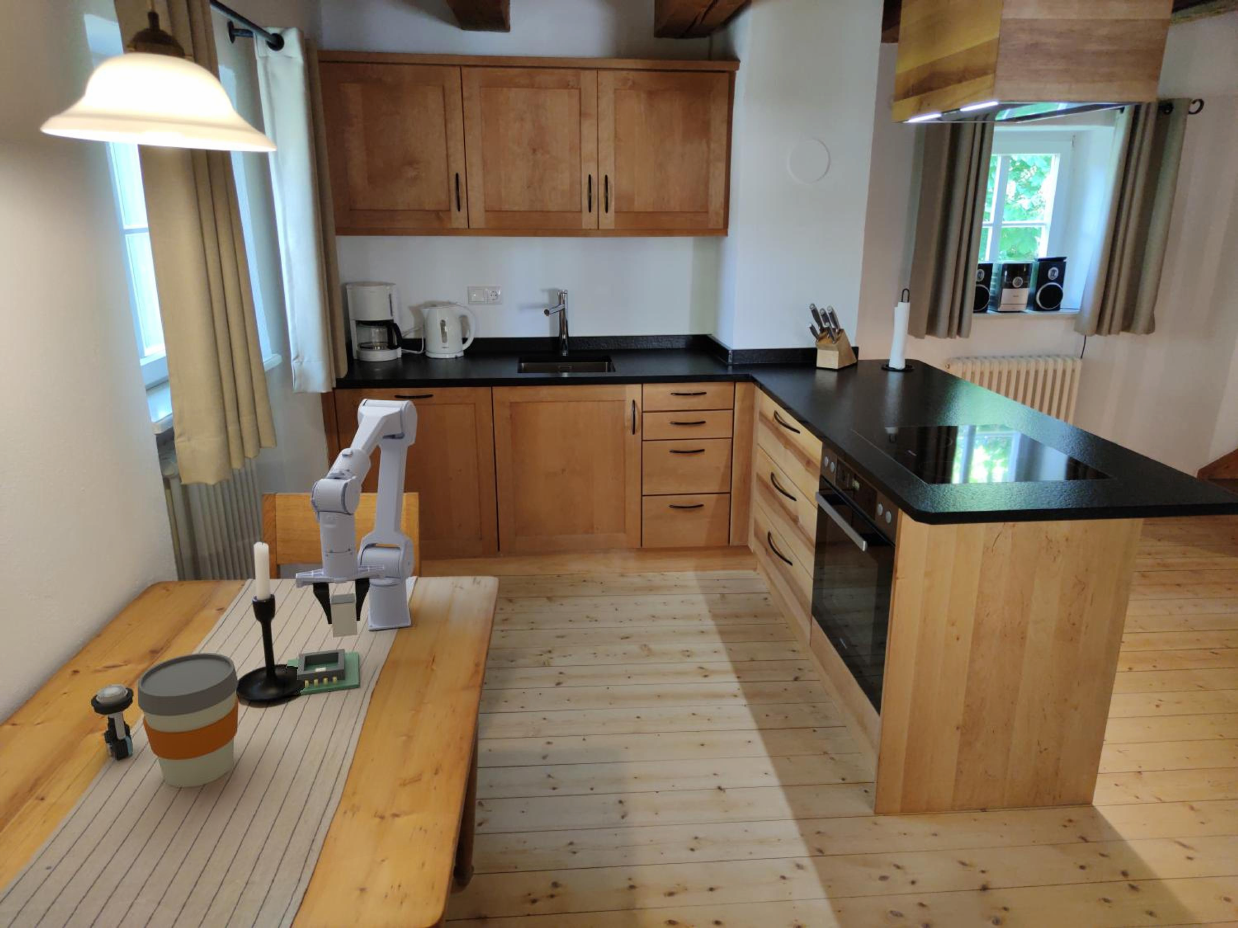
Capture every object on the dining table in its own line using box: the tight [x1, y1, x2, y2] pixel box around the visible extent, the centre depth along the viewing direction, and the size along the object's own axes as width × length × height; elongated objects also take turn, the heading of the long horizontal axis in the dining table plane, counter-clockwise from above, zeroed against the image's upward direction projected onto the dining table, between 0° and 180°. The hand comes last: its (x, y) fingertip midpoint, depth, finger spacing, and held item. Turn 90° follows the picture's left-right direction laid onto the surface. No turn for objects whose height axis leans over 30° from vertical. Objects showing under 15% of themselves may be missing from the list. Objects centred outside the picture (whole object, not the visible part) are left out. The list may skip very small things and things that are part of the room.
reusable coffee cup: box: [137, 652, 240, 788], centre depth 118 cm, size 13×13×15 cm
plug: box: [330, 592, 358, 638], centre depth 146 cm, size 4×4×6 cm
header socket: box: [286, 648, 360, 696], centre depth 146 cm, size 12×12×3 cm
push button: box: [90, 683, 135, 761], centre depth 123 cm, size 7×5×10 cm
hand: (344, 620), depth 146 cm, fingers closed on plug, 4 cm apart
